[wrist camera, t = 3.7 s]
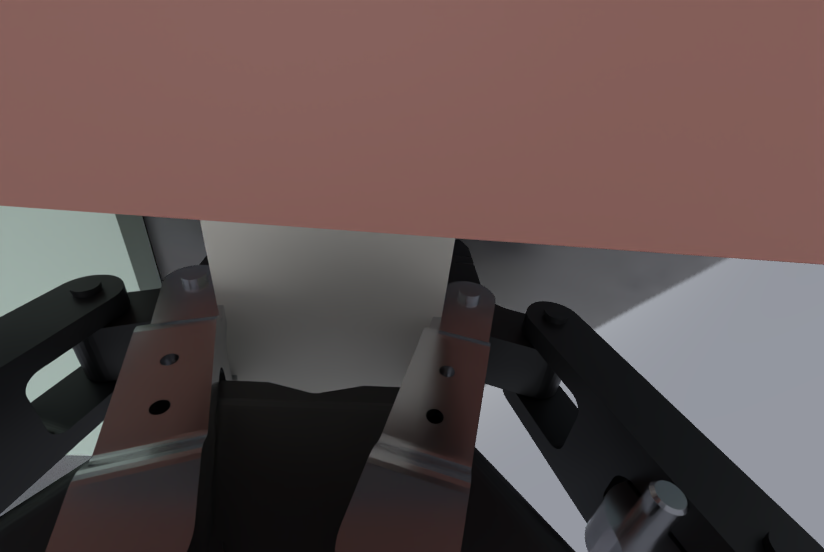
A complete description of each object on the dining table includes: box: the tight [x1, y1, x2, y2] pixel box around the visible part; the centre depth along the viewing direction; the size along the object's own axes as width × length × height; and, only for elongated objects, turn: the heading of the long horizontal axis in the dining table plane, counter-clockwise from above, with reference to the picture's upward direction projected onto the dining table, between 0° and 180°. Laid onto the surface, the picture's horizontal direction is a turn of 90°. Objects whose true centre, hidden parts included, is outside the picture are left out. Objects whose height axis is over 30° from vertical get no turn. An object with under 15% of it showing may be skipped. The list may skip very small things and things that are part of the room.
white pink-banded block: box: [200, 220, 455, 393], centre depth 9 cm, size 13×4×6 cm, turn 174°
